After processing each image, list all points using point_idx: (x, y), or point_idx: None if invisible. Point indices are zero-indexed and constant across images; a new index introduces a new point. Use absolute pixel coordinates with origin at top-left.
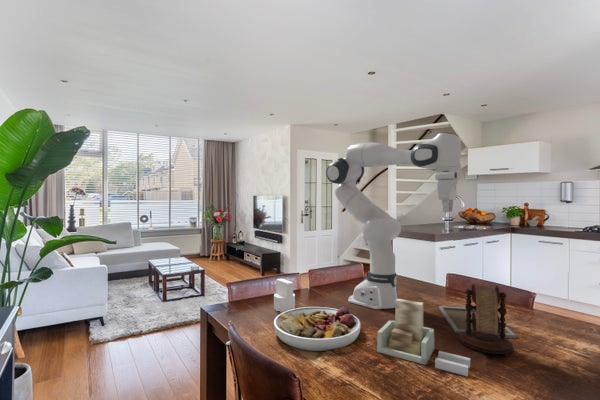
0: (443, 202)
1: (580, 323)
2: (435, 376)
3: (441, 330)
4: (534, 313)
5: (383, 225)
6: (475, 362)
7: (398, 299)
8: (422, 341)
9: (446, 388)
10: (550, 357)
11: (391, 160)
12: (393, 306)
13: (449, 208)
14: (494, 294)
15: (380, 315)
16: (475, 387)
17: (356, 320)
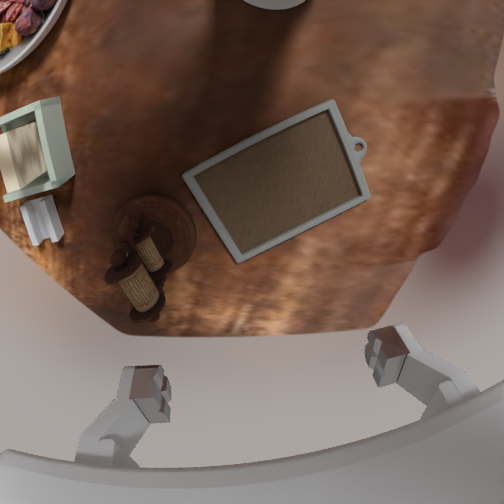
0: (84, 446)
1: (372, 316)
2: (18, 206)
3: (178, 145)
4: (395, 264)
5: None
6: (90, 232)
7: (2, 137)
8: (6, 196)
9: (9, 225)
10: (191, 303)
11: None
12: (253, 3)
13: (379, 363)
14: (134, 306)
15: (176, 3)
16: (34, 248)
17: (40, 30)
